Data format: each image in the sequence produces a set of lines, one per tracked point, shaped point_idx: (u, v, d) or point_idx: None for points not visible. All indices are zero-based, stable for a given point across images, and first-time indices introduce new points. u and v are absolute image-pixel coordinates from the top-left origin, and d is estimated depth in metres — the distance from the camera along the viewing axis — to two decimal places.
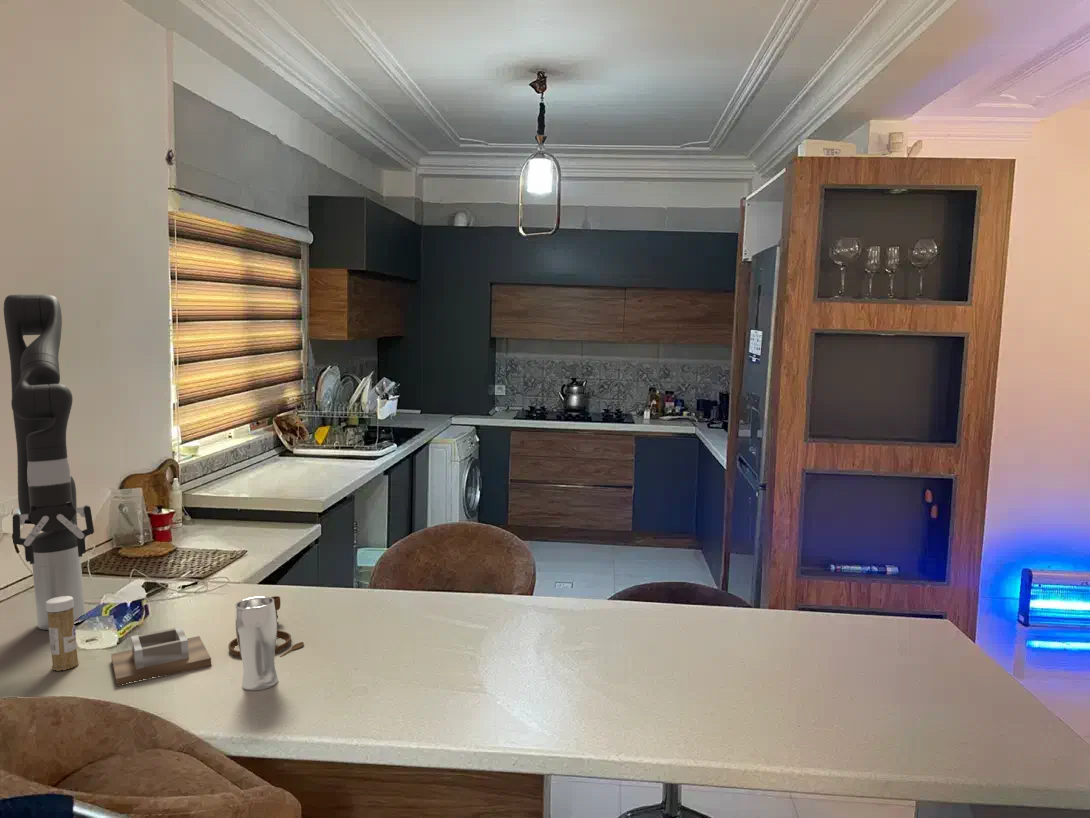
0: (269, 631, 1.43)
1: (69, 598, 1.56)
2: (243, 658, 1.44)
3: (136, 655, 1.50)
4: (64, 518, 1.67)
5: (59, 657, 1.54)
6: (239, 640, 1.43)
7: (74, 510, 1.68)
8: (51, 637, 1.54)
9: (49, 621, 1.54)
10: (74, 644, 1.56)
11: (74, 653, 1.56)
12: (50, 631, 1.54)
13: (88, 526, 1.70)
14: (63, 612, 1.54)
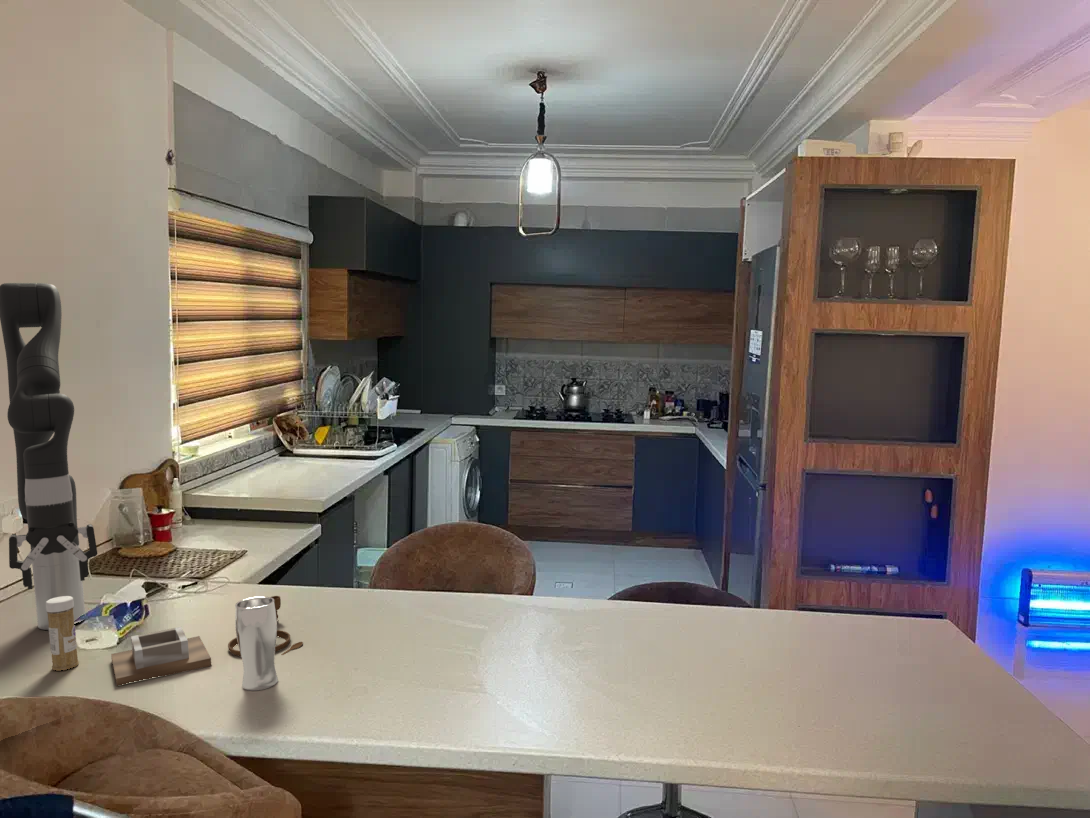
0: (269, 631, 1.43)
1: (69, 598, 1.56)
2: (243, 658, 1.44)
3: (136, 655, 1.50)
4: (65, 540, 1.53)
5: (59, 657, 1.54)
6: (239, 640, 1.43)
7: (76, 531, 1.55)
8: (51, 637, 1.54)
9: (49, 621, 1.54)
10: (74, 644, 1.56)
11: (74, 653, 1.56)
12: (50, 631, 1.54)
13: (91, 548, 1.56)
14: (63, 612, 1.54)
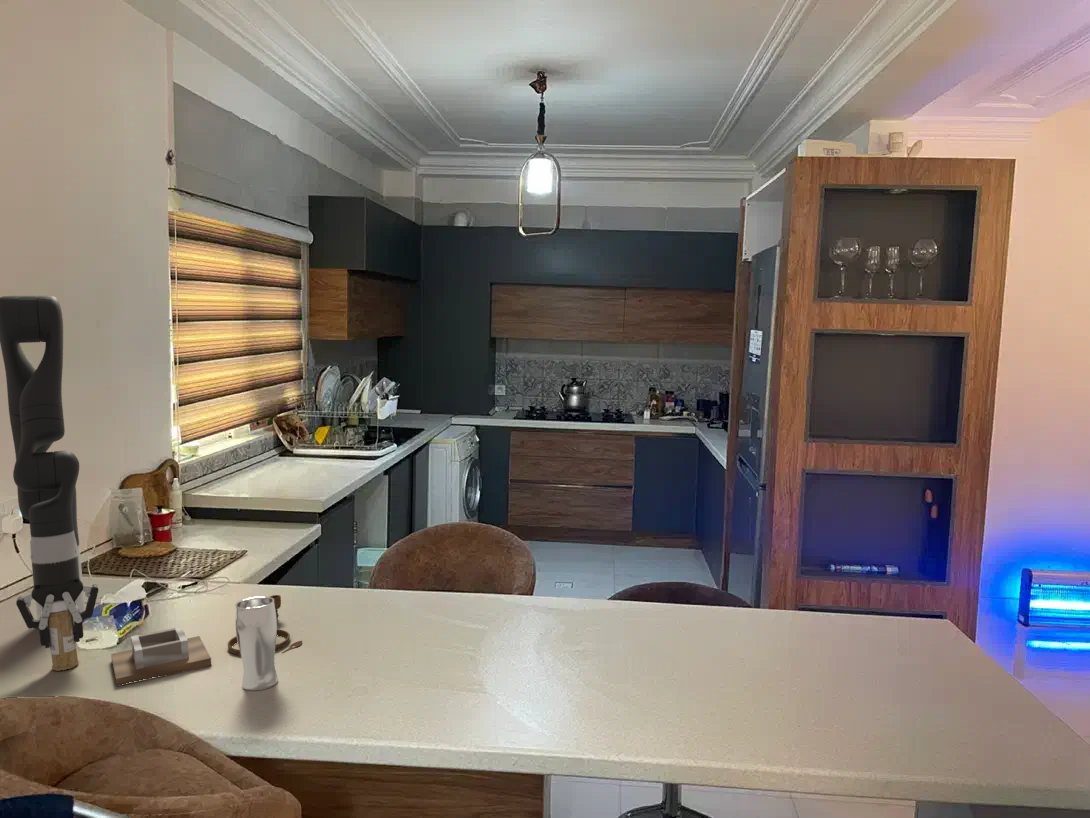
0: (269, 631, 1.43)
1: None
2: (243, 658, 1.44)
3: (136, 655, 1.50)
4: (69, 598, 1.54)
5: (59, 657, 1.54)
6: (239, 640, 1.43)
7: (81, 588, 1.56)
8: (50, 637, 1.54)
9: (48, 621, 1.54)
10: (74, 644, 1.56)
11: (73, 653, 1.56)
12: (49, 631, 1.54)
13: (88, 608, 1.57)
14: (62, 612, 1.54)
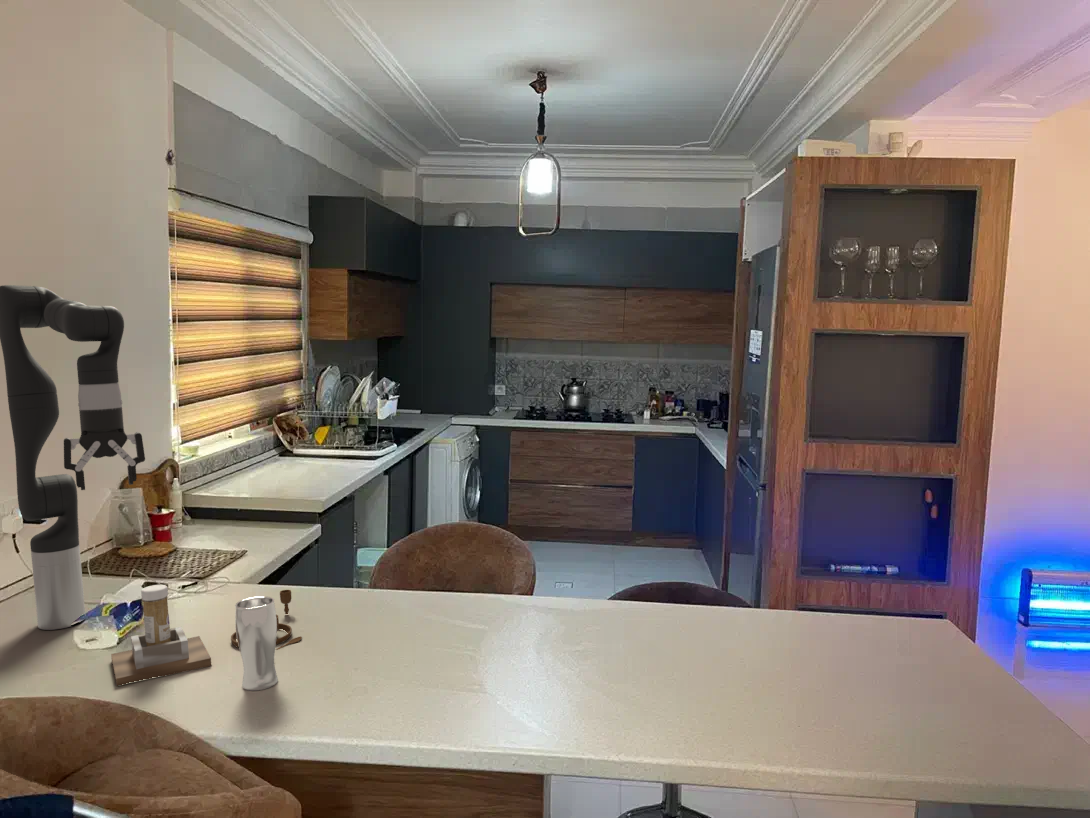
0: (269, 631, 1.44)
1: (164, 587, 1.56)
2: (243, 658, 1.44)
3: (136, 655, 1.50)
4: (116, 444, 1.62)
5: None
6: (239, 640, 1.43)
7: (125, 436, 1.64)
8: (147, 625, 1.54)
9: (145, 609, 1.54)
10: (168, 632, 1.56)
11: None
12: (146, 619, 1.54)
13: (139, 453, 1.65)
14: (159, 600, 1.54)
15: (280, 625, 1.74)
